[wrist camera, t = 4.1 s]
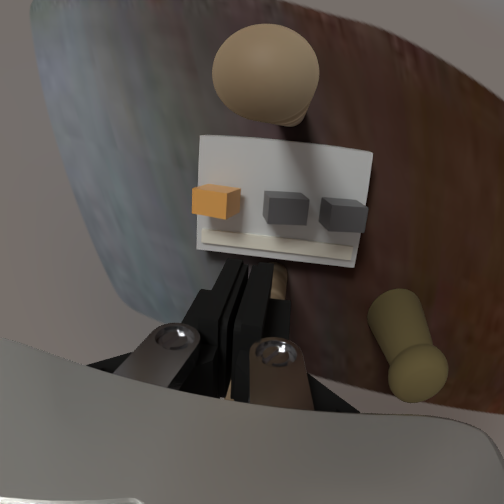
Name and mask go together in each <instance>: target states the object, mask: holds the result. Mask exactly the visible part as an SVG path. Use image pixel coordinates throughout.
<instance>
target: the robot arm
mask: <svg viewBox="0 0 504 504" xmlns="http://www.w3.org/2000/svg"><path fill="white" fill-rule="evenodd" d="M273 270H274V264H272V263H264V262H259V264H258V266H256V265H253V266H252V269H251V272H250V275H249V278H248V265H247V264H243V260H239V259H230V258H228V259H227V261H226V263H225V265H224V267H223V269H222V271H221V273H220V275H219V277H218V279H217V281H216V283H215V285H214V287H213V288H212V290H205V289H201V290H200V291H199V293H198V294H197V296H196V298H195V300H194V301H193V303H192V305H191V307H190V308H189V310H188V312H187V314H186V316H185V317H184V319H183V321H182V323H168V324H164V325H161V326H159V327H157V328H156V329H155V330H153V331H152V332H151V333H150V334H149V335H148V337H147V338H146V339H145V340H144V341H143V342H142V343H141V344H140V345H139V346H138V347H137V348H136V349H135V350H134V351H133V352H130V353H127V354H124V355H120V356H117V357H113V358H110V359H106V360H103V361H99V362H96V363H92V364H89V365H86V366H85V365H82V364H79V363H76V362H73V361H70V360H68V359H65V358H62V357H59V356H56V355H53V354H50V353H48V352H45V351H42V350H39V349H37V348H33V347H31V346H28V345H25V344H23V343H20V342H16V341H13V340H9V339H6V338H0V504H504V459H503V457H502V455H501V453H500V451H499V449H498V447H497V446H496V444H495V443H494V442H493V440H492V439H491V438H490V437H489V436H488V435H487V434H486V433H485V432H484V431H482V430H481V429H479V428H477V427H475V426H472V425H470V424H467V423H464V422H460V421H456V420H453V419H449V418H442V417H435V416H427V415H413V414H373V413H360V412H359V411H358V410H356V409H355V408H354V407H352V406H351V405H350V404H348V403H347V402H346V401H344V400H343V399H341V398H340V397H339V396H337V395H336V394H335V393H333V392H332V391H331V390H329V389H328V388H327V387H325V386H324V385H323V384H321V383H320V382H319V381H317V380H316V379H315V378H313V377H312V376H311V375H310V374H308V373H307V372H306V368H305V363H304V358H303V354H302V351H301V349H300V348H299V347H298V346H297V345H296V344H295V343H293V342H291V341H290V340H289V327H290V311H291V301H290V300H281V299H273V298H271V289H272V279H273ZM230 381H231V395H230V398H231V399H234V401H230V400H224V399H220V397H223V398H226V395H227V392H228V388H229V385H230Z"/></svg>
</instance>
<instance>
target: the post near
mask: <svg viewBox="0 0 504 504" xmlns="http://www.w3.org/2000/svg"><path fill="white" fill-rule="evenodd" d="M212 77H213V83H214V87H215V90H216V92H217V94H218V96H219V97H220V99H221V100H222V102H223V103H224V104H225V105H226V106H227V107H228V108H229V109H230V110H232V111H233V112H234V113H236V114H238V115H240V116H241V117H244V118H247V119H250V120H254V121H260V122H265V123H271V124H277V125H282V126H287V127H293V126H296V125H298V124H300V123H301V122H302V120H303V119H304V116H305V114H306V112H307V109H308V107H309V105H310V102H311V100H312V97H313V95H314V93H315V90H316V88H317V84H318V80H319V65H318V61H317V57H316V55H315V53H314V51H313V49H312V47H311V46H310V45H309V43H308V42H307V41H306V40H305V39H304V38H303V37H302V36H301V35H299V34H298V33H296V32H295V31H293V30H291V29H289V28H286V27H283V26H279V25H275V24H258V25H252V26H249V27H246V28H243V29H241V30H239V31H237V32H236V33H234V34H233V35H231V36H230V37H229V38H228V39H227V40H226V41H225V42H224V43H223V44H222V46H221V47H220V49H219V50H218V52H217V54H216V56H215V59H214V63H213V69H212Z"/></svg>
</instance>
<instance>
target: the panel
mask: <svg viewBox="0 0 504 504" xmlns="http://www.w3.org/2000/svg"><path fill="white" fill-rule="evenodd" d="M372 158H373V153H371V152H369V151H364V150H357V149H351V148H344V147H337V146H330V145H323V144H315V143H306V142H297V141H288V140H278V139H266V138H254V137H239V136H222V135H201V136H200V146H199V170H198V187H199V186H202V185H206V184H214V185H222V186H229V187H236V188H241V197H240V213H238V214H236V215H234V216H232V217H230V218H228V219H226V220H225V219H220V218H214V217H209V216H204V215H198V214H197V249H201V250H209V251H217V252H225V253H233V254H242V255H250V256H258V257H267V258H275V259H283V260H292V261H300V262H308V263H317V264H325V265H334V266H342V267H351V268H354V266H355V261H356V256H357V251H358V246H359V240H360V235H361V233H354V232H331V231H327V230H326V229H325V228H324V227H323V226H322V225H321V224H320V223H319V222H318V220H319V213H320V205H321V198H322V197H327V198H340V199H352V200H357V201H359V202H360V203H362V204H363V205H365V206H366V200H367V194H368V187H369V180H370V173H371V165H372ZM264 191H282V192H299V193H302V194H303V195H305V196H306V197H307V198H308V199H309V200H310V202H309V210H308V218H307V226H304V225H278V224H267V223H266V221H265V219H264V217H263V215H262V214H263V202H264Z"/></svg>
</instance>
